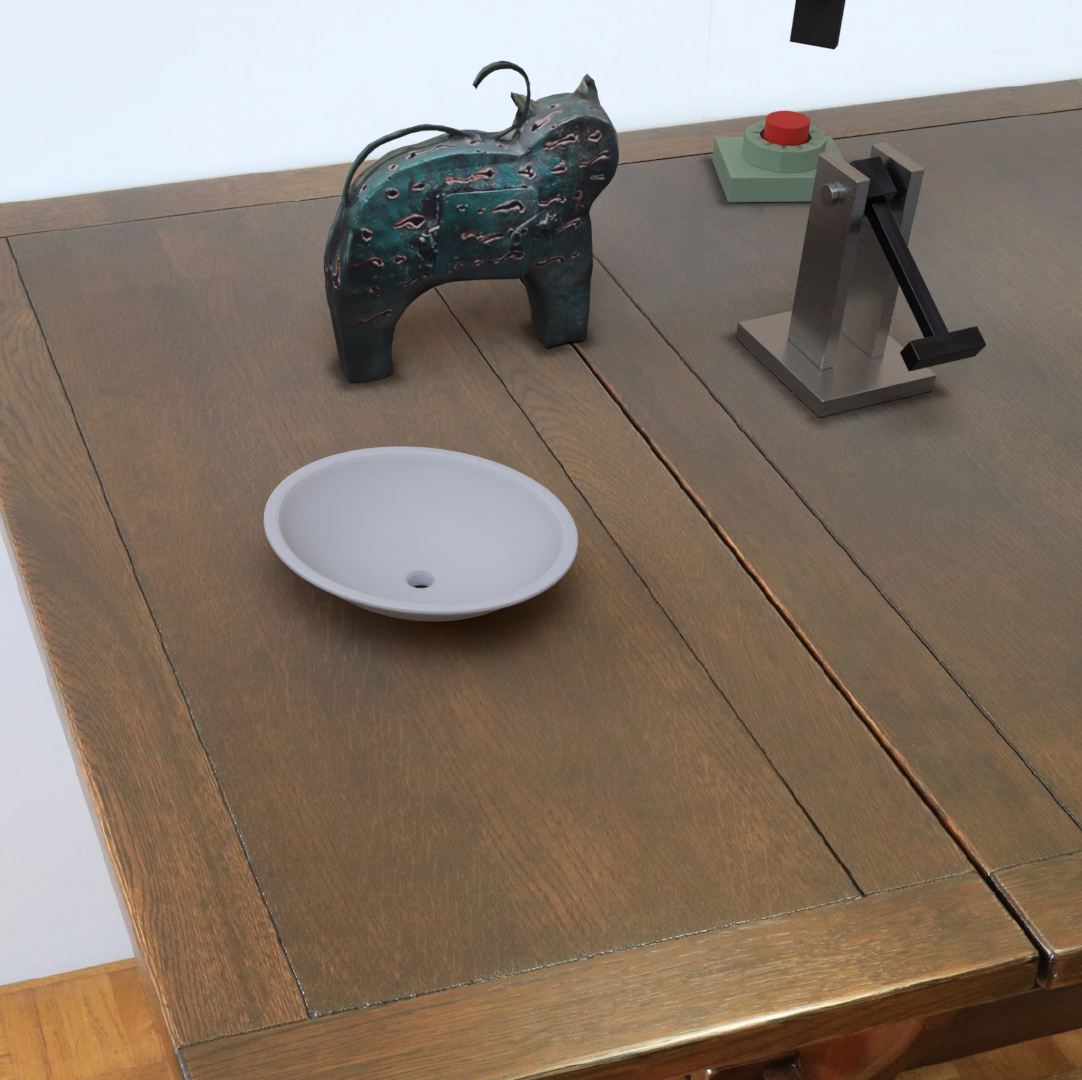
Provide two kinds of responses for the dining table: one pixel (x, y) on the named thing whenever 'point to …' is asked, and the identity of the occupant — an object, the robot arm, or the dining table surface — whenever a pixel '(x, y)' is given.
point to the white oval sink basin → (420, 532)
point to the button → (786, 128)
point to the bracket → (843, 297)
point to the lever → (912, 280)
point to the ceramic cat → (471, 221)
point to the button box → (768, 166)
